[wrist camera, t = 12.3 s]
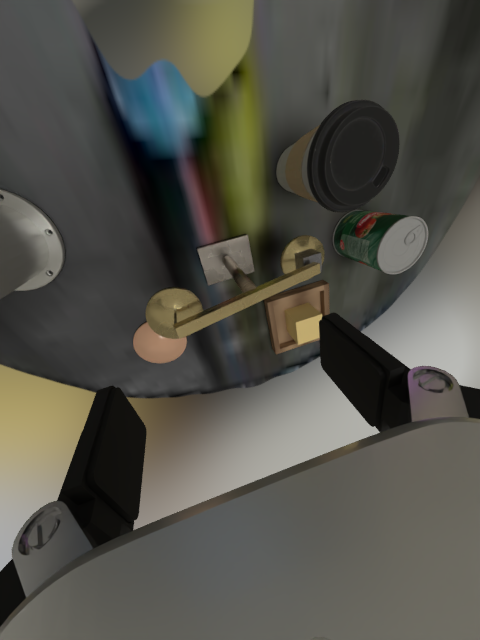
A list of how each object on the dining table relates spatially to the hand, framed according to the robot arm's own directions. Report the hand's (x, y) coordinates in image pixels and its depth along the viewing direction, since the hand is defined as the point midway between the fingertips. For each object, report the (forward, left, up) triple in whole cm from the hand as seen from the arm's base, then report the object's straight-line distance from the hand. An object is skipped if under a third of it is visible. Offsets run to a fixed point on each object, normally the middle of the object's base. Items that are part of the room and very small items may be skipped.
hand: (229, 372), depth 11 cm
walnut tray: (+16, -19, -30) cm, 39 cm away
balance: (+5, -4, -30) cm, 31 cm away
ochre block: (+16, -19, -30) cm, 39 cm away
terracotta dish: (-10, -15, -30) cm, 35 cm away
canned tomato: (+28, -6, -31) cm, 42 cm away
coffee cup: (+18, +6, -31) cm, 36 cm away
